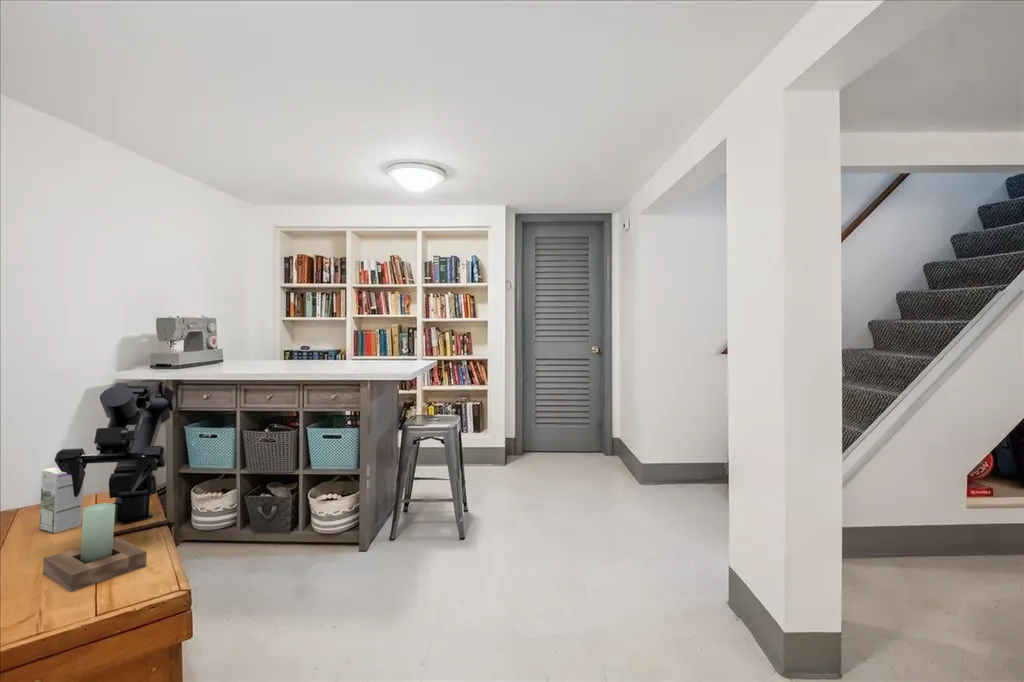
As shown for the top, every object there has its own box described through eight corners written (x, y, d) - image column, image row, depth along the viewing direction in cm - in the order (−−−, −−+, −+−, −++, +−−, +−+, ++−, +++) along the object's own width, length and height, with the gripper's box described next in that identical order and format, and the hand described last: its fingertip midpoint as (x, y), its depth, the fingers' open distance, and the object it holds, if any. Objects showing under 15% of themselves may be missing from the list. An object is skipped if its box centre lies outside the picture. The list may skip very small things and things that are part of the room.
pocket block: (116, 553, 102) (117, 537, 102) (145, 568, 97) (146, 551, 97) (42, 575, 92) (43, 558, 92) (70, 594, 86) (71, 575, 86)
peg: (104, 561, 98) (108, 501, 98) (116, 568, 95) (120, 506, 95) (74, 571, 93) (78, 508, 93) (86, 577, 91) (90, 513, 91)
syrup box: (82, 525, 115) (86, 466, 115) (52, 534, 109) (56, 472, 109) (67, 521, 117) (71, 463, 117) (37, 530, 111) (41, 468, 111)
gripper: (60, 412, 101) (33, 480, 91) (166, 411, 109) (151, 473, 99) (73, 439, 108) (49, 504, 98) (172, 436, 116) (159, 496, 107)
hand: (103, 494), depth 101 cm, fingers open, 9 cm apart
